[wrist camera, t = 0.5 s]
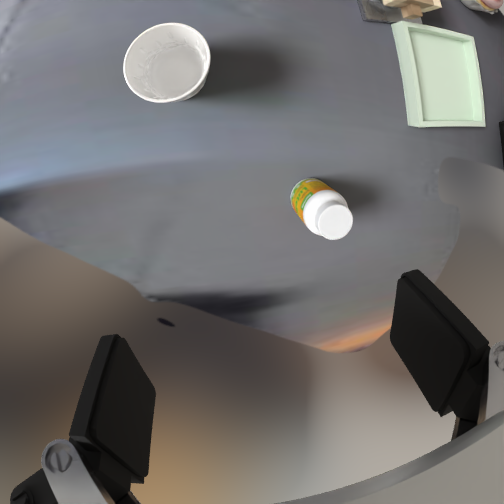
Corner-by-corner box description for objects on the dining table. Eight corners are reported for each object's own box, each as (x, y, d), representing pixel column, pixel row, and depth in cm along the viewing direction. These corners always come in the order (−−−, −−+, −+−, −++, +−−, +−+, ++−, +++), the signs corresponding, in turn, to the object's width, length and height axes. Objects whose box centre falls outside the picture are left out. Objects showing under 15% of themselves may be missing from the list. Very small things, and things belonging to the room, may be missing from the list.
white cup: (211, 43, 29) (210, 18, 20) (212, 102, 32) (211, 98, 23) (146, 50, 28) (123, 30, 19) (148, 109, 31) (124, 108, 22)
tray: (391, 24, 28) (401, 20, 26) (462, 38, 28) (473, 37, 26) (408, 125, 35) (419, 127, 33) (474, 124, 36) (485, 126, 33)
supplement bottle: (292, 175, 37) (316, 195, 29) (331, 179, 38) (363, 201, 29) (286, 214, 40) (307, 244, 31) (324, 217, 40) (352, 247, 32)
